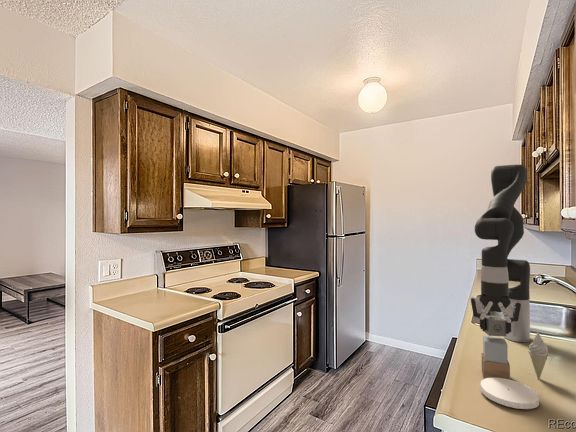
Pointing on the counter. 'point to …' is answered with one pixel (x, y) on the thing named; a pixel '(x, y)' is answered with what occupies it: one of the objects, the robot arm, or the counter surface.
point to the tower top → (495, 349)
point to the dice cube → (495, 326)
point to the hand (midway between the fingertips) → (495, 331)
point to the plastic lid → (509, 393)
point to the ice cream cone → (538, 354)
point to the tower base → (495, 369)
